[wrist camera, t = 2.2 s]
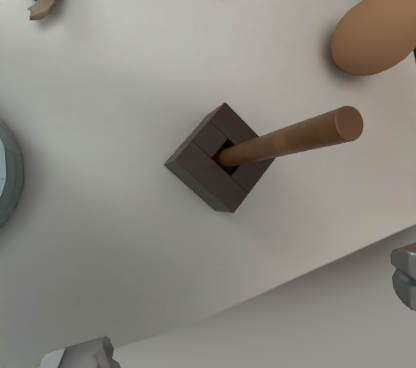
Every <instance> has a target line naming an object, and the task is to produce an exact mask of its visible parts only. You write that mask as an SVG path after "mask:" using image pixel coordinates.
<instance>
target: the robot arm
mask: <svg viewBox="0 0 416 368" xmlns="http://www.w3.org/2000/svg"><path fill="white" fill-rule="evenodd" d="M390 257H391V264H392V265H393V266H394V267H395V268H396V271H395V272H394V274H393V276H392V280H393V287H394V290H395V292H396V294H397V296H398V298H399V299H400V300H401V301H402V302H403V303H404V304H405V305H406V306H407V307H409V308H410V309H411V310H415V311H416V243H412V244H409V245H406V246H403V247H400V248H397V249H394V250H392V252H391V255H390ZM113 351H114V348H113V345H112V343H111V340H110V338H108V337H107V336H105V337H102V338H98V339H94V340H91V341H87V342H84V343H80V344H77V345H73V346H69V347H68V348H62V349H59V350H56V351H53V352H49V353H47V354H46V355H45V356H44V357H43V359H42V361H41V363H40V365H39V367H38V368H120V365H119V363H118V362H116V361H115V360H113V359H112V357H113Z"/></svg>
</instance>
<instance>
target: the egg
mask: <svg viewBox="0 0 416 368" xmlns="http://www.w3.org/2000/svg"><path fill="white" fill-rule="evenodd" d="M415 47H416V0H363V1H361V2H360V3H358V4H357V5H356V6H354V7H353V8H351V9H350V10H349V11H348V12H347V13H346V14H345V15H344V16H343V18H342V19H341V20H340V22H339V23H338V25H337V27H336V29H335V31H334V34H333V37H332V41H331V53H332V57H333V59H334V61H335V63H336V64H337V65H338V67H339V68H340V69H342V70H344V71H345V72H347V73H350V74H353V75H359V76H367V75H373V74H377V73H380V72H383V71H385V70H387V69H389V68H391V67H393V66H395V65H396V64H398V63H399V62H401V61H402V60H403V59H405V58H406V57H407V56H408V55H409V54H410V53H411V52H412V51H413V50H414V48H415Z"/></svg>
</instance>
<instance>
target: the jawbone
mask: <svg viewBox="0 0 416 368" xmlns="http://www.w3.org/2000/svg"><path fill="white" fill-rule="evenodd" d="M35 1H37V2H36V3H35V4H34V5H32V6H31V7H30V8H28V10H30V11H31V14H30V20H40V19H42V18H44V17H45V16H46V15H47V14H49V13H50V11H51V10H52V9H53V7H54V6H55V4H56V2H57V0H35Z"/></svg>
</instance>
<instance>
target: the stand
mask: <svg viewBox="0 0 416 368" xmlns="http://www.w3.org/2000/svg"><path fill="white" fill-rule="evenodd" d="M257 137H259V136H258V135H257V134H256V133H255V132H254V131H253V130H252V129H251V128H250V127H249V126H248V125H247V124H246V123H245V122H244V121H243V120H242V119H241V118H240V117H239V116H238V115H237V114H236V113H235V112H234V111H233V110H232V109H231V108H230V107H229V106H228V105H227V103H223V104H222V105H220V106H219V107H218V108H216V109H215V110H214V111H212V112H211V113H210V114H208V115H207V116H206V117H205V118H204V120H203V121H202V122H201V123H200V124H199V125H198V126H197V128H196V129H195V130H194V131H193V132H192V133H191V134H190V136H189V137H188V138H187V139H186V140H185V141H184V142H183V144H182V145H181V146H180V147H179V148H178V149H177V150H176V152H175V153H174V154H173V155H172V156H171V157H170V158H169V160H168V161H167V162H166V163H165V164H164V165H165V166H166V167H167V168H168V169H169V170H170V171H171V172H173V173H174V174H175V175H176V176H177V177H178V178H179V179H180V180H181V181H183V182H184V183H185V184H186V185H187V186H188V187H189V188H190V189H192V190H193V191H194V192H195V193H196V194H197V195H198V196H199V197H200V198H202V199H203V200H204V201H205V202H206V203H207V204H208V205H209V206H210V207H212V208H213V209H214V210H215V211H223V212H230V213H234V212H235V210H236V209H237V208H238V207H239V205H240V204H241V203H242V201H243V200H244V199H245V197H246V196H247V195H248V193H249V192H250V191H251V189H252V188H253V187H254V185H255V184H256V183H257V182H258V180H259V179H260V178H261V176H262V175H263V173H264V172H265V171H266V170H267V168H268V167H269V166H270V164H271V163H272V162H273V161H274V159H275V158H276V157H275V158H270V159H265V160H261V161H256V162H251V163H246V164H242V165H237V166H232V167H227V168H223V169H222V168H221V167H220V166H219V165H218V164H217V163H216V162H215V161H214V160H213V159H212V157H213V156H214V155H215V153H216V152H218V151H221V150H224V149H227V148H229V147H232V146H235V145H238V144H241V143H243V142H246V141H249V140H252V139H254V138H257Z"/></svg>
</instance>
